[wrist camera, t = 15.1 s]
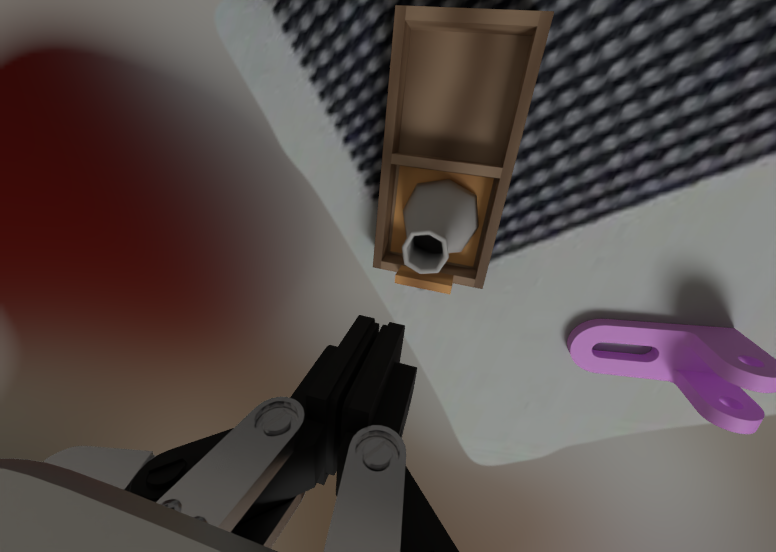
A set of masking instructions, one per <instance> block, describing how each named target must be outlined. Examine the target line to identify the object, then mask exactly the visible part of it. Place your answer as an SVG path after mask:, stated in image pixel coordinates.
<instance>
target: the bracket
mask: <svg viewBox="0 0 776 552" xmlns="http://www.w3.org/2000/svg"><path fill="white" fill-rule="evenodd" d="M600 342H608V343H620V344H631V345H642V346H652V349H651V351H649V352H648V353H646V354H631V353H620V352H610V351H599V350H593V349H592V347H593V346H594V345H595V344H597V343H600ZM567 346H568V350H569V352H570V354H571V357H572V359H573V361H574V362H575V363H576V364H577V365H578V366H579V367H581V368H582V369H584V370H587V371H590V372H594V373H602V374H610V375H619V376H628V377H637V378H646V379H655V380H664V381H670V382H673V383H674V384H676V385H677V386H678V388H679V389H680V390H681V391H682V393H683V394H684V395H685V396H686V398H687V399H688V400H689V401H690V403H691V404H692V405H693V406H694V408H695V409H696V410H697V412H698V413H699V414H700V415H701V416H702V417H704V418H705V419H706V420H708V421H709V422H711V423H713V424H714V425H716V426H718V427H721V428H723V429H725V430H728V431H731V432H735V433H740V434H751V433H754V432H756V430H757V429H758V427H759V425H760V423H761V422H762V420H763V418H764V411H763V410H762V408H761V407H760V406H759V405H758V404H757V403H756V402H755V401H754V400H752V399H751V398H750V397H749V396H748V395H747V394H746V393H745V392H744V391H743V390H742V389H741V388H740V387H742V388H745V389H748V390H752V391H756V392H763V393H773V392H776V359H774V358H773V357H772V356H770V355H769V354H768V353H767V352H765V351H764V350H763V349H761V348H760V347H759V346H757V345H756V344H755V343H753V342H752V341H751V340H749V339H748V338H747V337H745V336H744V335H743V334H741V333H740V332H739V331H737V330H736V329H735V328H724V327H710V326H696V325H683V324H669V323H656V322H642V321H628V320H615V319H592V320H588V321H585V322H583V323H581V324H579V325H578V326H577V327H575V328H574V329H573V330H572V331H571V333H570V335H569V337H568V340H567Z"/></svg>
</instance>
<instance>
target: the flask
mask: <svg viewBox="0 0 776 552" xmlns="http://www.w3.org/2000/svg"><path fill="white" fill-rule="evenodd" d="M403 216H404V223H405V230H406V237H407V239H406V240H405V242H404V244H403V246H402V252H403V259H404V265H406V266H408V267H409V268H411V269H413V270H414V271H416V272H418V273H419V274H428V273H439V271H440V270H441V268H442V267H443V265H444V264H445V263H446V261H447V260H448V258H449V254H448V253H455V252H462V250H463V249H464V247H465V246H466V244H467V243H468V241H469V240H470V239H471V237H472V236H473V234H474V233H475V231H476V230H477V228H478V227H479V225H478V207H477V195H475V194H474V193H472V192H470V191H469V190H467V189H465V188H463V187H462V186H460V185H458V184H457V183H455V182H453V181H451V180H450V179H446V180H438V181H431V182H424V183H417V185H416V187H415V188H414V190H413V192H412V194H411V196H410V198H409V200H408V201H407V203H406V205H405V207H404V209H403Z"/></svg>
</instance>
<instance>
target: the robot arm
mask: <svg viewBox="0 0 776 552" xmlns="http://www.w3.org/2000/svg"><path fill="white" fill-rule="evenodd" d="M404 330H405V325H400V324H396V323H392V322H389V324H388V326H387V325H383V326H382V327H381V329H380V331H379V324H378V323H375V319H374V318H371V317H366V316H362V315H359V316H358V318H357V319H356V321H355V322H354V323H353V325H352V327H351V328H350V329H349V331H348V332H347V334H346V336H345V337H344V338H343V340H342V341H341V343H340V344H339V346H338V347H336V346H332V345H329V346H327V347H326V349H325V350H324V351H323V353H322V354H321V355H320V357H319V358H318V360H317V361H316V362H315V364H314V365H313V367H312V368H311V369H310V371H309V372H308V374H307V375H306V376H305V378H304V379H303V381H302V382H301V383H300V385H299V386H298V388H297V389H296V390H295V392H294V393H293V394H292V396H291V397H290V398H288V397H276V398H271V399H269V400H266V401H264V402H263V403H261V404H260V405H258V406H257V407H256V408H255V409H254V410H252V411H251V412H250V413H249V414H248V415H247V416H246V417H245V418H244V419H243V420H242V421H241V422H240V423H239V424H238V425H237V426H236V427H235V428H232V429H229V430H227V431H224V432H221V433H218V434H215V435H212V436H209V437H206V438H203V439H200V440H197V441H194V442H191V443H188V444H185V445H182V446H180V447H177V448H174V449H171V450H168V451H166V452H164V453H161V454H159V455H157V456H154V455H153V452H152V451H141V450H129V449H116V448H104V447H91V446H77V447H71V448H68V449H65V450H62V451H60V452H58V453H56V454H55V455H52V456H51V457H49V458H47V459H46V460H45V461H43V462H39V461H33V460H28V459H14V458H5V459H4V458H3V459H0V552H277V551H275V550H272V549H271V547H272V546H273V544H274V543H275V541H276V540H277V538H278V537H279V535H280V533H281V532H282V530H283V529H284V527H285V526H286V524H287V523H288V521H289V520H290V518H291V516H292V515H293V513H294V512H295V510H296V509H297V507H298V506H299V504H300V503H301V501H302V499H303V497H304V495H305V491H308V490H310V489H312V488H314V487H315V485H316V483H319V484H322V485H324V484H325V482H326V479H327V477H328V475H329V474H331V475H335V473H336V471H337V482H336V496H337V499H336V503H335V508H334V511H333V516H332V520H331V524H330V528H329V532H328V536H327V540H326V544H325V548H324V552H459V551H458V549H457V548H456V546H455V544H454V543H453V541H452V540H451V538H450V536H449V535H448V533H447V532H446V530H445V528H444V527H443V525H442V524H441V522H440V520H439V519H438V517H437V515H436V514H435V512H434V511H433V509H432V507H431V506H430V504H429V503H428V501H427V499H426V498H425V496H424V494H423V493H422V491H421V490H420V488H419V486H418V485H417V483H416V482H415V480H414V478H413V477H412V475H411V474H410V472H409V470H408V469H407V467H406V448H405V444H404V442H403V440H402V434H403V430H404V426H405V422H406V419H407V415H408V411H409V406H410V403H411V398H412V394H413V389H414V384H415V378H416V372H417V367H413V366H409V365H405V364H402V363H400V357H401V350H402V344H403V337H404Z"/></svg>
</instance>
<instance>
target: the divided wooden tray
mask: <svg viewBox="0 0 776 552" xmlns="http://www.w3.org/2000/svg"><path fill="white" fill-rule="evenodd" d="M553 14H554V11H528V10H503V9H477V8H452V7H426V6H401V5H395V17H394V28H393V40H392V51H391V63H390V74H389V86H388V97H387V109H386V121H385V132H384V144H383V155H382V167H381V178H380V190H379V201H378V213H377V224H376V236H375V248H374V259H373V267H374V268H380V269H385V270H390V271H395V272H397V274H396V276H395V283H397V284H402V285H407V286H412V287H417V288H422V289H427V290H432V291H436V292H441V293H446V294H450V293H451V288H452V283H455V284H460V285H465V286H470V287H475V288H480V289H482V288H483V285H484V281H485V277H486V273H487V269H488V265H489V261H490V257H491V254H492V250H493V246H494V242H495V238H496V234H497V230H498V227H499V223H500V219H501V215H502V211H503V207H504V203H505V199H506V196H507V192H508V188H509V184H510V180H511V176H512V172H513V168H514V165H515V161H516V157H517V153H518V149H519V145H520V141H521V138H522V134H523V130H524V126H525V122H526V118H527V114H528V110H529V107H530V103H531V99H532V95H533V91H534V87H535V83H536V79H537V76H538V72H539V68H540V64H541V60H542V56H543V52H544V48H545V45H546V41H547V37H548V33H549V29H550V25H551V21H552V18H553ZM446 179H450V180H451V181H453V182H455V183H457V184H458V185H460V186H462V187H463V188H465V189H467V190H469V191H470V192H472V193H474V194H475V195H477V207H478V225H479V227H478V228H477V230H476V231H475V233H474V234H473V236H472V237H471V239H470V240H469V241H468V243H467V244H466V246H465V247H464V249H463V250H462V252H455V253H448V254H449V258H448V260H447V261H446V263H445V264H444V265H443V267H442V268H441V270H440V271H439V273H428V274H419V273H418V272H416V271H414V270H413V269H411V268H409V267H408V266H406V265H404V259H403V252H402V246H403V244H404V242H405V240H406V239H407V237H406V230H405V223H404V216H403V209H404V207H405V205H406V203H407V201H408V200H409V198H410V196H411V194H412V192H413V190H414V188H415V187H416V185H417V183H424V182H431V181H438V180H446Z"/></svg>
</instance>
